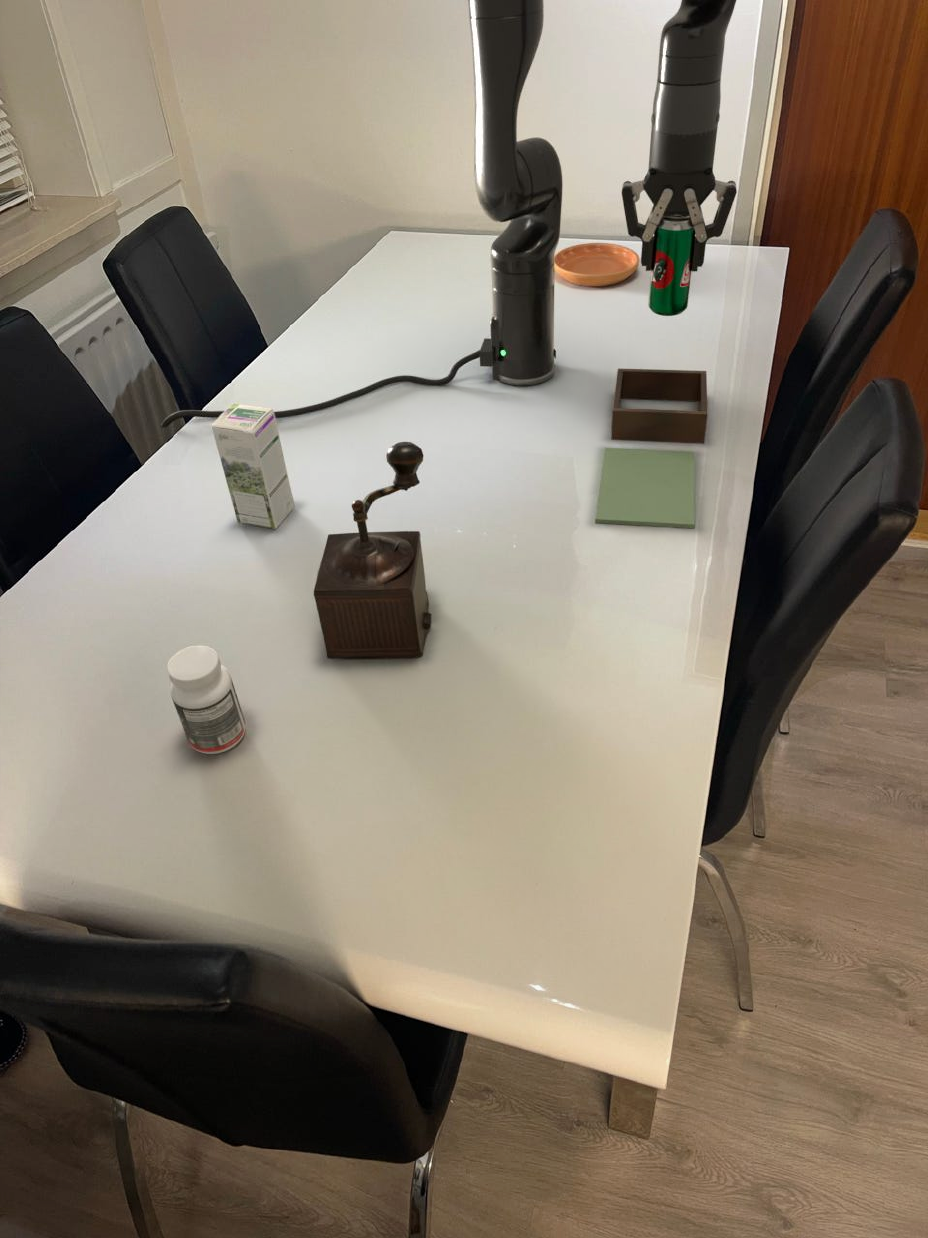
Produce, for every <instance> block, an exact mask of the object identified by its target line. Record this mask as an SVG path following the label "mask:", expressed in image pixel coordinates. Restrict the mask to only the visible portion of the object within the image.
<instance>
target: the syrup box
mask: <svg viewBox="0 0 928 1238" xmlns="http://www.w3.org/2000/svg"><path fill="white" fill-rule="evenodd" d="M223 411H224V412H223V413H222V414H221V415H220V416H219V417H218V418H216V419H215V420H214V422H213V423H212V424H211V431H212V434H213V437H214V441H215V445H216V449H217V452H218V455H219V459H220V462H221V466H222V470H223V473H224V477H225V481H226V484H227V488H228V492H229V495H230V500H231V503H232V506H233V510H234V514H235V517H236V522H237V523H238V524H241V525H246V526H247V525H248V526H253V527H259V528H266V529H271V530H277V528H279V526H280V525H281V524H282V523H283V522H284V521H285V519H287V517H288V516H289V514H291V512H292V511H293V510H294V508H295V506H296V505H295V500H294V496H293V492H292V488H291V483H290V480H289V474H288V470H287V466H286V461H285V457H284V451H283V446H282V442H281V437H280V432H279V428H278V423H277V418H275V414H274V412H275V409H273V408H268V407H261V406H251V405H245V404H236V403H233V404H232V405H230V406H229V407H227V409H225V410H223Z"/></svg>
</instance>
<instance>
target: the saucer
mask: <svg viewBox="0 0 928 1238" xmlns="http://www.w3.org/2000/svg"><path fill="white" fill-rule="evenodd" d="M639 264H640V256H639V254H638V253H637V252H636V251H635V250H633V249H631V248H629V247H628V246H623V245H620V244H617V243H610V242H588V243H579V244H575V245H570V246H568V247H565V248H563V249H561V250H560V251H558V252H557V253H555V255H554V271H556V273H557V274H558V275H559V276H561V277H562V278H563V279H564V280H565V281H567V282H569V283H571V284H574V285H576V286H577V285H578V286H582V287H583V286H585V287H606V286H611V285H615V284H619V283H621V282H622V281H625V280H626V279H627V278H629V276H631V275H632V274H634V272H635V271H636V270H637V269H638V267H639Z"/></svg>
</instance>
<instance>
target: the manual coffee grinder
mask: <svg viewBox="0 0 928 1238" xmlns="http://www.w3.org/2000/svg"><path fill="white" fill-rule="evenodd" d="M385 456H386V457H385V458H386V463H387V464H388V465H389V466H390V468H392V470H393V471H394V473H395V475H394V479H393V481H392V485H389V486H388V485H387V486H385V487H382V488H379V489H376V490H374V491H371V492H370V493H368V494H367V495H366V496H365V497H364V498H363V500H361V499H356V500H354V501H353V502H352V503H351V509H352V512H353V513H352V517H353V522H354V523H356V524H357V531H358V532H345V533H344V532H343V533H330V534H327V537H326V542H325V547H324V550H323V553H322V557H321V560H320V562H319V563H320V564H319V568H318V570H317V575H316V580H315V584H314V589H313V596H314V600H315V605H316V606H315V607H316V610H317V614H318V619H319V624H320V628H321V632H322V638H323V641H324V647H325V653H326V657H327V659H332V660H333V659H335V660H389V659H390V660H391V659H392V660H393V659H395V660H397V659H415V658H420V657H422V656H423V653H424V651H425V650H424V649H425V645H426V639H427V635H428V631H429V629H430V628H431V625H432V613H430V612H429V606H430V601H429V594H428V591H427V588H426V574H425V566H424V558H423V557H424V556H423V550H422V541H421V532H420V531H419V530H398V531H397V530H396V531H368V526H367V520H368V519H369V518H368V513H369V510H370V508H371V506H372V505H373V503H374V502H375V501H377V500H378V499H381V498H383V497H386V496H390V495H392V494H394V493H396V492H398V491H405V492H407V491H408V490H409V489H412V488H414V487H416V486H417V485H419V484H420V479H419V477H418V474H417V472H418V470H419V467H420V466H421V464H422V463H423V462H424V452H423V450H422V448H421V447H419V446H418V445H416V443H413V442H412V441H400V442H397V443H395V444H394V445H392V446H390V447H388V450H387V452H386V455H385Z"/></svg>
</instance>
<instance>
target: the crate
mask: <svg viewBox="0 0 928 1238" xmlns="http://www.w3.org/2000/svg"><path fill="white" fill-rule="evenodd" d="M707 374H708V373H707V370H689V369H687V370H686V369H683V370H682V369H653V368H652V369H649V368H647V369H646V368H619V367H618V368H617V372H616V379H615V387H614V396H613V403H612V412H611V414H612V415H611V432H610V433H611V434H610V436H611V437H610V439H611V440H621V441H643V442H644V441H645V442H646V441H647V442H666V443H667V442H669V443H694V444H695V443H696V444H704V443H705V438H706V437H705V436H706V429H707V420H708V378H707V377H708V375H707ZM622 400H639V401H640V400H644V401H645V400H647V401H670V402H671V401H673V402H675V401H676V402H679V401H680V402H697V410H688V409H687V410H686V409H685V410H684V409H683V410H682V409H659V408H658V409H655V408H654V409H653V408H627V407H622Z"/></svg>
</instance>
